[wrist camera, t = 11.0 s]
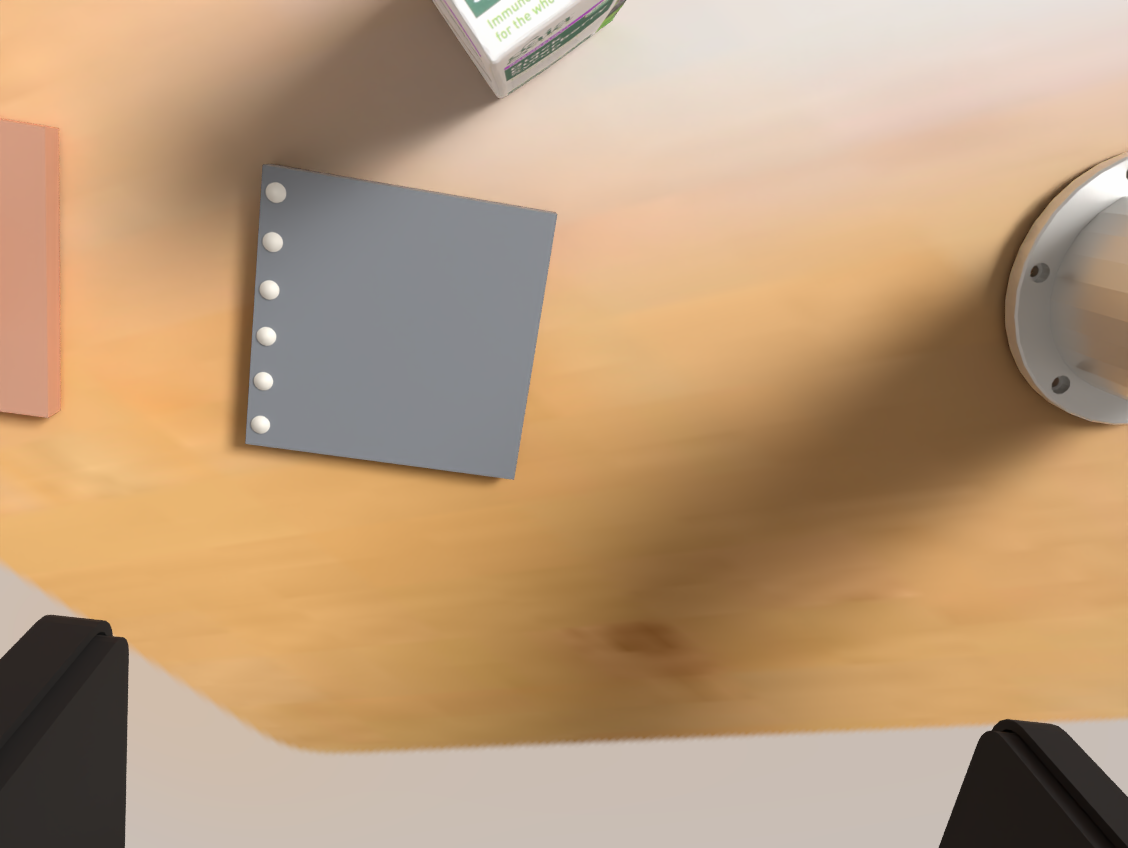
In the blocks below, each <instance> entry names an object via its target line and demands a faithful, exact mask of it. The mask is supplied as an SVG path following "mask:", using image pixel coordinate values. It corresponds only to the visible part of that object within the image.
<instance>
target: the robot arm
mask: <svg viewBox="0 0 1128 848" xmlns="http://www.w3.org/2000/svg"><path fill="white" fill-rule="evenodd" d="M1032 268H1033V271H1032V273H1031V270H1032ZM1005 328H1006V332H1007V337H1008V342H1009V347H1010V351H1011V353H1012V355H1013V358H1014V360H1015V362H1016V364H1017V367H1018V369H1019V371H1020V372H1021V374H1022V375H1023V376H1024V378H1025V379H1026V380H1027V382H1028V383H1029V384H1030V386H1031V387H1032V388H1033V389H1034V390H1035V391H1036V392H1037V393H1038V394H1040V395H1041V396H1042V397H1043V398H1044V399H1046V400H1047V401H1048V402H1049V403H1051V404H1053V405H1055V406H1057V407H1058V408H1060V409H1062V410H1064V411H1066V412H1068V413H1070V414H1072V415H1075V416H1078V417H1080V418H1083V419H1086V420H1088V421H1091V422H1098V423H1104V424H1111V425H1125V424H1128V152H1125V153H1122V154H1120V155H1118V156H1115V157H1113V158H1111V159H1108V160H1106V161H1104V162H1101V163H1099V164H1098V165H1096V166H1095V167H1093V168H1091V169H1090V170H1088V171H1087V172H1085V173H1084V174H1082V175H1081V176H1079V177H1078V178H1076V179H1075V180H1073V181H1072V182H1071V183H1070V184H1069V185H1068V186H1067V187H1066V188H1065V189H1063V190H1062V191H1061V192H1060V193H1059V194H1058V195H1057V196H1056V197H1055V198H1054V199H1053V200H1052V201H1051V202H1050V203H1049V204H1048V206H1047V207H1046V208H1045V209H1044V211H1043V212H1042V213H1041V214H1040V216H1039V217H1038V218H1037V219H1036V221H1035V222H1034V223H1033V225H1032V227H1031V229H1030V231H1029V232H1028V234H1027V236H1026V238H1025V239H1024V241H1023V243H1022V245H1021V246H1020V248H1019V251H1018V254H1017V256H1016V259H1015V262H1014V264H1013V267H1012V270H1011V273H1010V277H1009V282H1008V287H1007V293H1006V298H1005ZM128 664H129V648H128V642H127V640H126V639H125V638H123V637H114V636H113V635H112V629H111V626H110V624H109V623H108V622H107V621H103V620H94V619H85V618H76V617H66V616H56V615H46V616H44V617H42V618H41V619H40V620H38V621H37V622H36V623H35V624H34V625H33V626H32V627H31V628H30V629H29V631H27V632H26V634H25V635H24V636H23V637H22V638H21V639H20V640H19V641H18V642H17V643H16V644H15V645H14V646H13V647H12V648H11V649H10V650H9V651H8V652H7V653H6V654H5V655H4V656H3V657H2V658H1V659H0V848H125V813H126V763H127V714H128V713H127V712H128ZM939 848H1128V797H1127V796H1126V795H1125V794H1124V793H1123V792H1122V790H1121V789H1120V788H1119V787H1118V786H1117V785H1116V784H1115V783H1114V782H1113V781H1112V780H1111V779H1110V778H1109V777H1108V776H1107V775H1106V774H1105V773H1104V772H1103V770H1102V769H1101V768H1100V767H1099V766H1098V765H1097V764H1096V763H1095V762H1094V761H1093V760H1092V759H1091V758H1090V757H1089V756H1088V755H1087V754H1086V753H1085V752H1084V750H1083V749H1082V748H1081V747H1080V746H1079V745H1078V744H1077V743H1076V742H1075V741H1074V740H1073V739H1072V738H1071V737H1070V736H1069V735H1068V734H1067V733H1066V732H1065V731H1064V730H1062V729H1061V728H1060V727H1059V726H1056V725H1053V724H1047V723H1038V722H1029V721H1019V720H1010V719H1006V720H1002V721H999V722H998V723H997V724H996V725H995V726H994V727H993V729H992V731H987V732H985V733H984V734H983V735H982V736H981V738H980V739H979V741H978V744H977V746H976V749H975V752H974V754H973V757H972V760H971V762H970V765H969V768H968V770H967V773H966V776H965V778H964V781H963V784H962V786H961V789H960V792H959V794H958V797H957V800H956V803H955V805H954V808H953V810H952V813H951V816H950V819H949V821H948V824H947V827H946V829H945V832H944V835H943V837H942V840H941V843H940V845H939Z"/></svg>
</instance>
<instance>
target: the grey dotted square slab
mask: <svg viewBox="0 0 1128 848" xmlns="http://www.w3.org/2000/svg"><path fill="white" fill-rule="evenodd" d="M556 218H557V214H556V212H550V211H545V210H539V209H533V208H527V207H521V206H515V205H509V204H503V203H497V202H492V201H486V200H480V199H474V198H468V197H462V196H456V195H450V194H444V193H439V192H433V191H427V190H421V189H415V188H409V187H403V186H397V185H392V184H386V183H380V182H374V181H368V180H362V179H356V178H350V177H344V176H339V175H333V174H327V173H321V172H315V171H309V170H303V169H297V168H291V167H286V166H280V165H274V164H264V165H263V168H262V184H261V200H260V217H259V233H258V249H257V265H256V281H255V298H254V314H253V330H252V346H251V362H250V379H249V395H248V411H247V427H246V443H245V444H251V445H258V446H266V447H273V448H281V449H288V450H296V451H303V452H311V453H318V454H326V455H333V456H341V457H348V458H356V459H363V460H371V461H378V462H386V463H393V464H401V465H408V466H416V467H423V468H431V469H438V470H446V471H453V472H460V473H468V474H475V475H483V476H490V477H498V478H505V479H513V480H514V476H515V470H516V464H517V458H518V452H519V446H520V439H521V433H522V427H523V421H524V415H525V409H526V403H527V396H528V390H529V384H530V378H531V372H532V366H533V360H534V353H535V347H536V341H537V335H538V329H539V323H540V317H541V311H542V304H543V298H544V292H545V286H546V280H547V274H548V268H549V261H550V255H551V249H552V243H553V237H554V231H555V225H556Z"/></svg>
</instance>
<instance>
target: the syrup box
mask: <svg viewBox="0 0 1128 848" xmlns="http://www.w3.org/2000/svg"><path fill="white" fill-rule="evenodd" d="M432 1H433V3H434V4H435V6H436V7H437V9H438V10H439V12H440V13H441V15H442V16H443V18H444V19H445V21H446V22H447V24H448V25H449V27H450V28H451V30H452V31H453V33H454V34H455V36H456V37H457V39H458V40H459V42H460V43H461V45H462V46H463V48H464V49H465V51H466V52H467V54H468V55H469V57H470V58H471V60H472V61H473V63H474V64H475V66H476V67H477V69H478V70H479V72H480V73H481V74H482V76H483V77H484V79H485V80H486V82H487V83H488V85H489V86H490V88H491V89H492V90H493V92H494V93H495V95H496V96H497V97H498V98H503V97H506V96H507V95H509V94H510V93H512V92H513V91H515V90H516V89H518V88H519V87H521V86H522V85H524V84H525V83H527V82H528V81H529V80H531V79H532V78H534V77H535V76H537V75H538V74H540V73H541V72H543V71H544V70H546V69H547V68H548V67H550V66H551V65H552V64H554V63H555V62H557V61H558V60H559V59H561V58H562V57H563V56H565V55H566V54H568V53H569V52H570V51H572V50H573V49H574V48H576V47H577V46H578V45H580V44H581V43H582V42H584V41H585V40H587V39H588V38H589V37H591V36H592V35H593V34H594V33H596V32H597V31H598V30H600V29H601V28H602V27H604V26H605V25H607V24H608V23H609V22H611V21H612V20H613V18H614V17H615V15H616V14H617V12H618V11H619V10H620V8H621V7H622V6H623V4H624V2H625V1H626V0H432Z"/></svg>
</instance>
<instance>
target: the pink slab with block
mask: <svg viewBox="0 0 1128 848" xmlns="http://www.w3.org/2000/svg"><path fill="white" fill-rule="evenodd" d="M60 410H61V393H60V237H59V128H55V127H49V126H43V125H37V124H31V123H25V122H19V121H13V120H7V119H2V118H0V411H1V412H8V413H16V414H23V415H31V416H38V417H46V418H49V417H50V416H52V415H54V414H55V413H57V412H59V411H60Z"/></svg>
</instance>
